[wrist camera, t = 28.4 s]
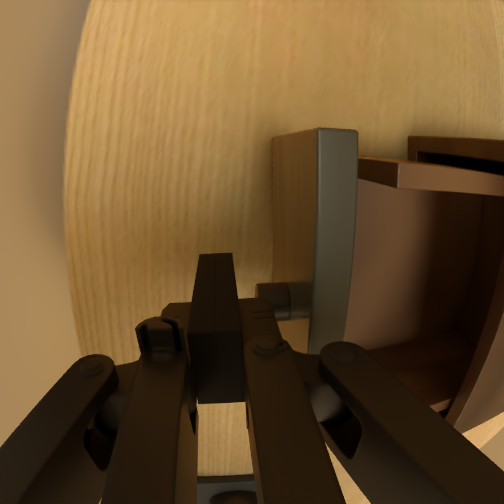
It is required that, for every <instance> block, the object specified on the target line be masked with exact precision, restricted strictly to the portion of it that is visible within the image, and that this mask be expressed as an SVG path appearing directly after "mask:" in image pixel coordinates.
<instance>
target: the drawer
mask: <svg viewBox="0 0 504 504" xmlns="http://www.w3.org/2000/svg"><path fill="white" fill-rule="evenodd" d="M272 141H273V283H259V284H256V286H255V298H261V297H263V298H265V299H266V300H267V301H269V302H270V303H271V305H272V308H273V312H274V314H275V318H276V320H277V323H278V326H279V329H280V332H281V335H282V338H283V339H284V340H286V341H288V343H289V344H290V346H291V348H292V349H293V350H294V351H297V352H300V353H306V354H317V355H320V350H321V349H322V348H323V347H324V346H325V345H327V344H329V343H331V342H337V341H346V342H351V343H355V344H357V345H359V346H361V347H362V348H364V349H365V350H366V351H367V352H368V353H369V354H371V355H372V356H373V357H374V358H375V359H376V360H377V361H379V362H380V363H381V364H382V365H383V366H384V367H385V368H386V369H388V370H389V371H390V372H391V373H392V374H393V375H394V376H396V377H397V378H398V379H399V380H400V381H401V382H402V383H404V384H405V385H406V386H407V387H408V388H409V389H410V390H412V391H413V392H414V393H415V394H416V395H417V396H418V397H420V398H421V399H422V400H423V401H424V402H425V403H426V404H428V405H429V406H430V407H431V408H432V409H433V410H434V411H436V412H439V411H442V410H444V409H447V408H449V407H451V406H452V404H453V402H454V400H455V398H456V396H457V394H458V391H459V389H460V387H461V385H462V383H463V380H464V378H465V376H466V373H467V371H468V368H469V366H470V364H471V361H472V358H473V356H474V353H475V351H476V348H477V345H478V342H479V340H480V337H481V334H482V331H483V328H484V325H485V322H486V319H487V315H488V312H489V309H490V305H491V302H492V298H493V294H494V291H495V287H496V283H497V279H498V274H499V270H500V265H501V261H502V256H503V250H504V174H501V173H496V172H490V171H485V170H479V169H473V168H466V167H460V166H452V165H445V164H437V163H429V162H420V161H410V160H399V159H388V158H375V157H359V156H358V131H356V130H351V129H337V128H321V127H319V128H314V129H309V130H304V131H299V132H295V133H290V134H286V135H282V136H277V137H274V138H273V139H272Z"/></svg>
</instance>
